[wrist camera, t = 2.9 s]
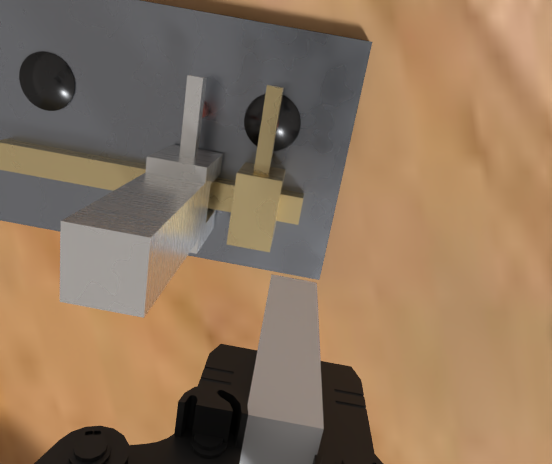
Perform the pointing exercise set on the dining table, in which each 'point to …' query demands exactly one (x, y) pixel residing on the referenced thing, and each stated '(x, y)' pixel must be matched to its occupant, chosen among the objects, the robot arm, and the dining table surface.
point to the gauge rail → (223, 193)
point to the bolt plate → (177, 107)
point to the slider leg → (143, 224)
